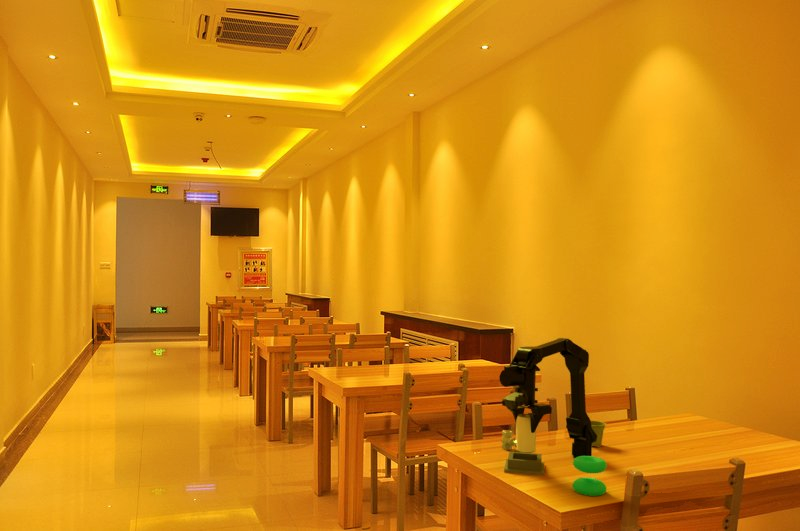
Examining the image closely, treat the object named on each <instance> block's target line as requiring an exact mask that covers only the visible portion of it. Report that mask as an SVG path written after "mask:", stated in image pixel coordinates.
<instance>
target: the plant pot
mask: <svg viewBox="0 0 800 531" xmlns="http://www.w3.org/2000/svg"><path fill="white" fill-rule="evenodd" d="M606 425H607V423H606V422H603V421H600V420H591V426H592V429H593V431H594V432H595V433H596V435H597V440H596V442H594V443H592V447H595V448H599V447H601V446H602V443H603V436H604V431H605V428H606Z"/></svg>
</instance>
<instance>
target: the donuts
mask: <svg viewBox="0 0 800 531" xmlns="http://www.w3.org/2000/svg"><path fill="white" fill-rule="evenodd" d="M572 464H573V466H574V468H575V469H576V470H578V471H579V472H582V473H586V474H600V473H603V472H605V471H606V469H607V467H608V463H607V462H606V460H605V459H603V458H602V457H598V456H593V455H592V456H579V457H576V458H573V461H572ZM571 487H572V489H573V490H574V492H576V493H577V494H580V495H583V496H588V495H589V497H597V496H603V495H604V494H605V493H606V492H607V486H606V484H605V482H603V481H602V480H599V479H598V478H593V477H579V478H576V479H575V480H573V482H572V486H571Z"/></svg>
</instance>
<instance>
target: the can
mask: <svg viewBox="0 0 800 531" xmlns="http://www.w3.org/2000/svg"><path fill="white" fill-rule="evenodd" d="M517 416H518V417H517V419H516V422H515V425H516V426H515V428H516V430H515V432H516V433H515V434H516V436H515V439H516V441H517V448H516V451H517V450H518V451H519V452H522V453H535V452H536V451H537V435H536V434H537V429H536V430H535V432H534V433H531V418H530V416H529V415H528V413H524V414H518V415H517Z"/></svg>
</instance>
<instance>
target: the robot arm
mask: <svg viewBox="0 0 800 531" xmlns="http://www.w3.org/2000/svg"><path fill="white" fill-rule="evenodd" d="M558 353H559V355H561V356H562V358H564V363H565V367H566V368H567V370H568V372H569V377H570V379H569V380H570V399H571V401H570V402H571V403H570V406H571V412H570V414H569V416H567V417H566V418H565V421H566V423H565V424H566V427H565V428H566V430H567V432H568V436H569V437H568V438H569V439H573V442H571V455H572V456H573V459H575V458H576V457H579V456H593V455H592V454H593V452H592V449H593V448H592V447H593V446H592V443H594V442H596V440H597V435H596V433H595V432H594V431H593V429H592V426H591V421H592V419H590V417H589V414H587V410H586V408H587V407H586V403H587V402H586V384H585V383H586V381H585V372H586V371H587V369H588V367H589V362H590V361H589V360H590V354H589V351H587V350H586V348H585V349H584V348H583V347H581V346H580V345H578V344H576V343H574V342H573V341H572V340H571V339H570V338H565V337H558V338H556V339H555V340H551V341H548V342H545V343H542V344H540V345H536V346H520V347H519V348H517V351H516V352H515V354H514V357H513V358H512V360H511V361H510V364H509V365H504V367H503V368H504V369H503V370H501V372H500V375H499V377H498V378H499V382H500V384H501V386H503V387H504V388H507V387H515V388H514V391H513V392H512V393H510V394H508V395H507V396H504V397H503V398H502V404H501V406H503V407H506V409H507V410H509V411H510V412H511V413H512V415H513V418H514V421H515V423H516V419H517V417H518V416H517V415H518V414H525V410H526V409H528V410H530V411H531V412H528V413H527V414H528V415H529V416H530V418H531V433H534V432H535V430H536V431H537V428H538V426H539V424H540V422H541V420H542V419H543V417H544V416H545V415H551V414H552V411H553V407H552V406H551V405H550V404H549V403H538V402H539V401H538V400H537V399H536V392H538V391H539V388H538V387H536V379H537V378H536V375H537V372H540V371H541V368H540V367H539V366H538V364H540V363H541V362H542V361H543V359H545V358H546V357H549V356H552V355H555V354H558Z"/></svg>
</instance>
